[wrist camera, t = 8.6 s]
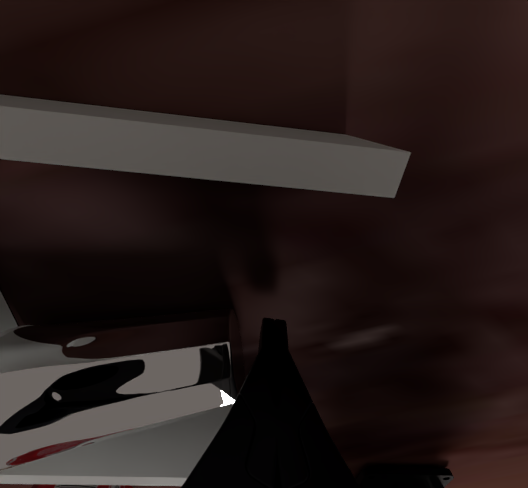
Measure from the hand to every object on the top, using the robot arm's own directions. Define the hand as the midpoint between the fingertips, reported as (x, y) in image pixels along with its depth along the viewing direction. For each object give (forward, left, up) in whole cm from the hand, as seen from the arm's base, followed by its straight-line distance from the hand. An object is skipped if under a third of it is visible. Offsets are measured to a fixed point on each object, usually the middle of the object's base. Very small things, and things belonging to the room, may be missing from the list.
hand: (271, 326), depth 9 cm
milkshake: (+1, +1, 0) cm, 2 cm away
